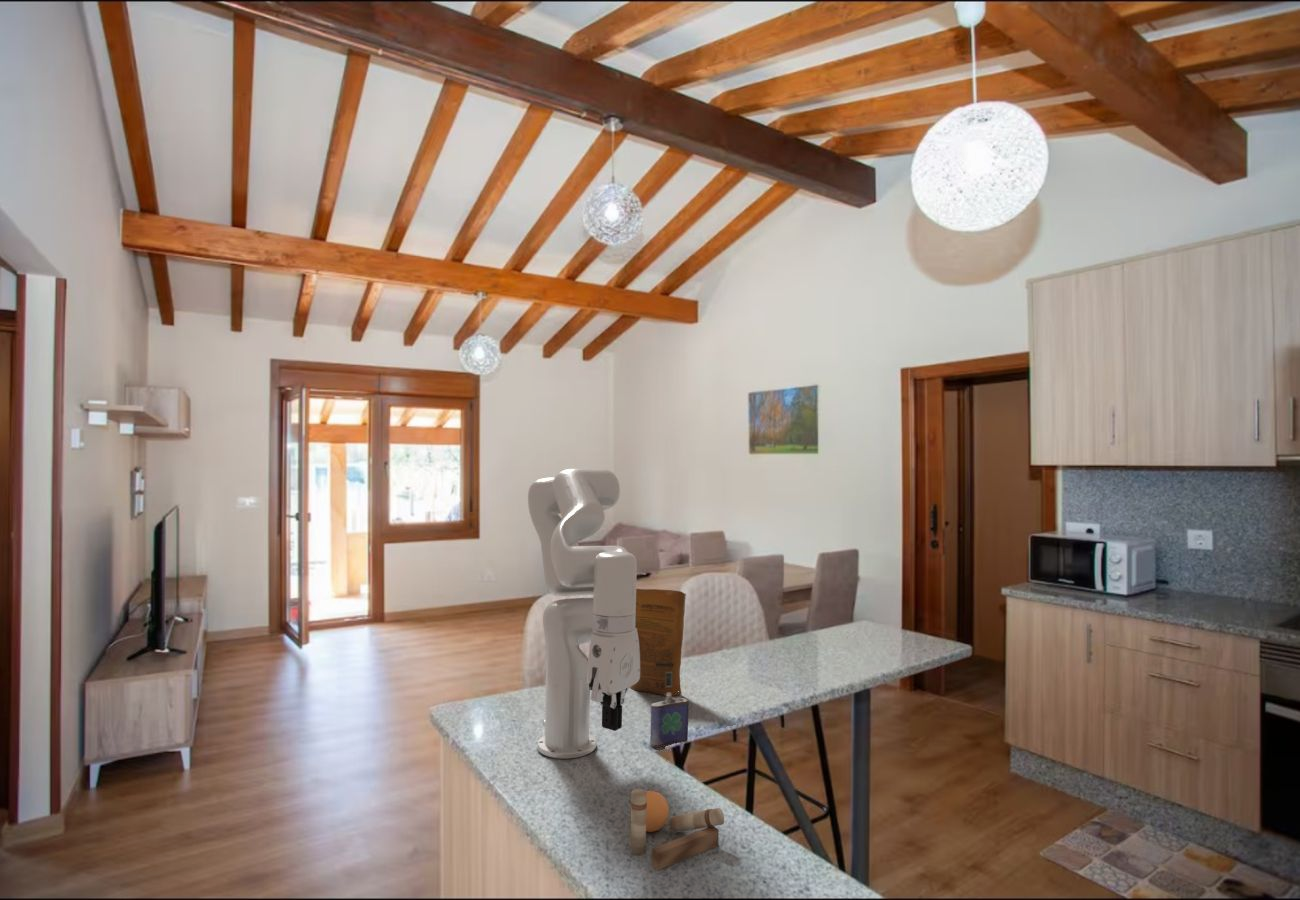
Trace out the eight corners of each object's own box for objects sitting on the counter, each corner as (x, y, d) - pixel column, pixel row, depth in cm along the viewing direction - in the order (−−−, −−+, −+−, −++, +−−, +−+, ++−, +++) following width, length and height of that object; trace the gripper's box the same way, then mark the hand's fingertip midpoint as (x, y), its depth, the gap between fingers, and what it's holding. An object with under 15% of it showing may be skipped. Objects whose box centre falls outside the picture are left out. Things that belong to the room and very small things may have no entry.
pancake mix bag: (679, 700, 174) (680, 593, 175) (615, 689, 183) (617, 586, 184) (689, 693, 180) (690, 589, 181) (627, 682, 189) (629, 583, 190)
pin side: (627, 849, 105) (628, 791, 105) (640, 844, 107) (641, 787, 107) (635, 856, 103) (636, 797, 103) (649, 851, 105) (650, 793, 105)
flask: (653, 748, 144) (654, 698, 144) (647, 743, 146) (648, 694, 147) (690, 741, 148) (691, 692, 148) (683, 736, 151) (684, 688, 151)
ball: (668, 817, 107) (656, 846, 108) (677, 793, 113) (665, 821, 114) (634, 799, 108) (623, 828, 110) (645, 777, 114) (634, 804, 115)
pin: (672, 812, 112) (718, 803, 108) (679, 824, 112) (725, 817, 108) (667, 823, 110) (714, 815, 106) (674, 836, 110) (721, 828, 106)
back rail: (657, 870, 100) (658, 853, 100) (651, 865, 101) (652, 848, 101) (718, 845, 107) (718, 829, 107) (712, 841, 108) (712, 825, 108)
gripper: (605, 634, 109) (602, 747, 109) (655, 618, 122) (652, 719, 121) (570, 627, 113) (567, 736, 113) (621, 612, 126) (619, 710, 125)
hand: (611, 727), depth 117 cm, fingers closed
